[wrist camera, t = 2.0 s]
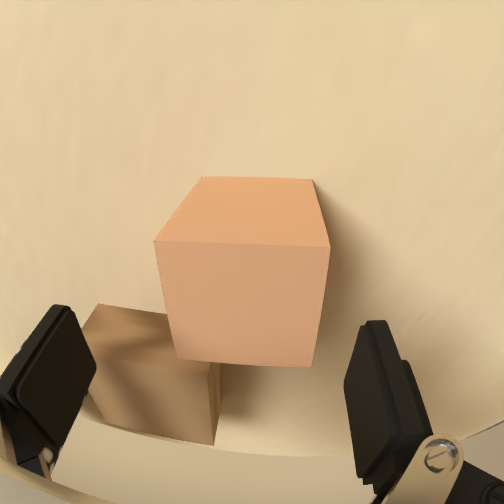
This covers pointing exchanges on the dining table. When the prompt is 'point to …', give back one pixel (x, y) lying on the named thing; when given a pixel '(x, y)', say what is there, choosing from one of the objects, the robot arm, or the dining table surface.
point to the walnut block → (150, 377)
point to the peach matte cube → (245, 271)
